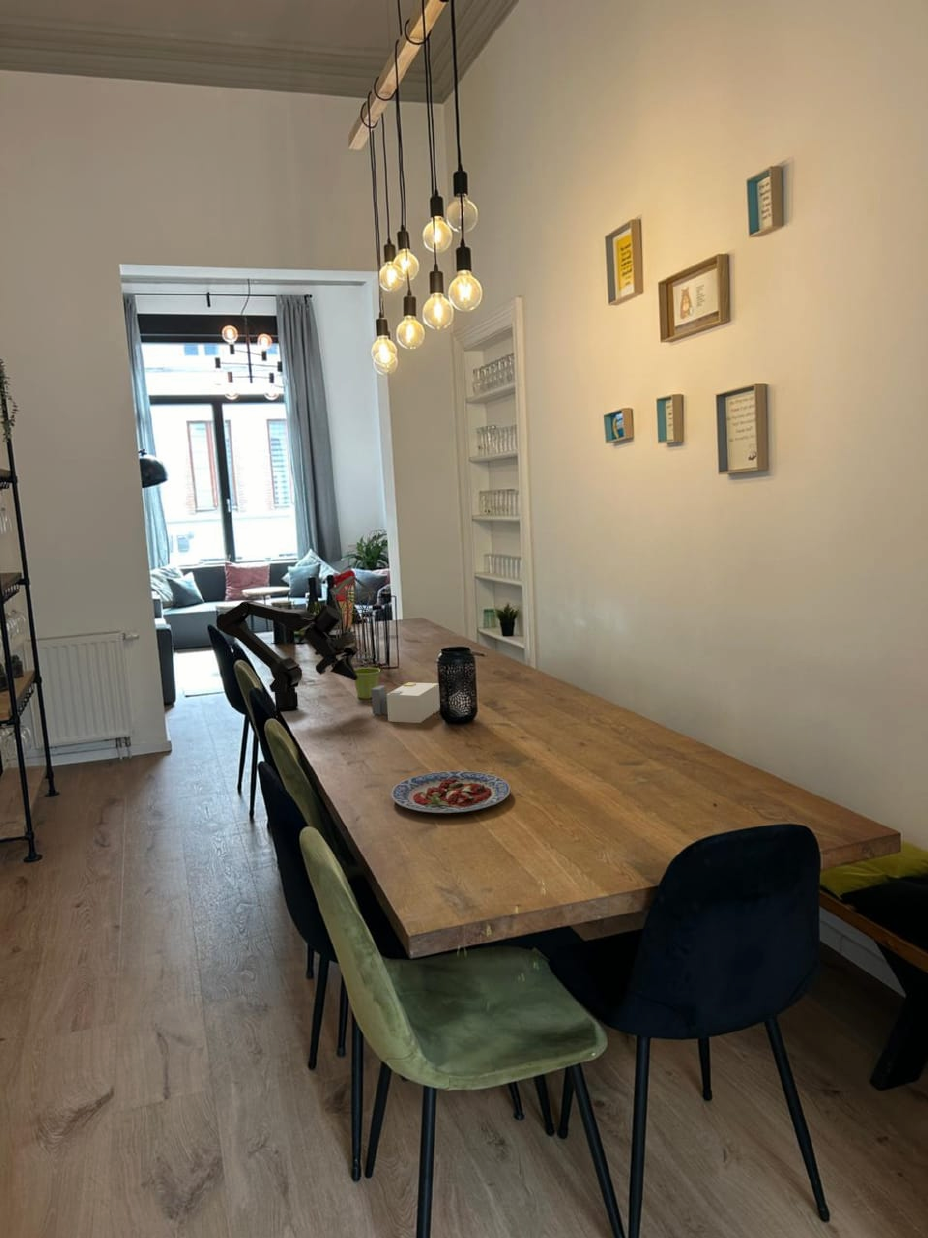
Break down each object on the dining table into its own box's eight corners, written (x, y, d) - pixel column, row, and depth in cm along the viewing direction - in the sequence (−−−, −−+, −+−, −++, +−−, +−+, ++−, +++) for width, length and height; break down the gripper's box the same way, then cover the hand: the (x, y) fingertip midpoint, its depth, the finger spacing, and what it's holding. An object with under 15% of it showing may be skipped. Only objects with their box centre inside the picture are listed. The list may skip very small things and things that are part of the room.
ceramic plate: (445, 773, 211) (444, 760, 211) (534, 793, 195) (533, 780, 194) (366, 805, 192) (366, 792, 191) (458, 831, 175) (458, 816, 175)
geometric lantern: (331, 666, 343) (327, 576, 338) (371, 663, 347) (368, 574, 343) (338, 673, 328) (334, 579, 323) (380, 670, 332) (376, 577, 328)
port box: (387, 721, 259) (386, 693, 258) (409, 707, 274) (407, 681, 273) (420, 723, 256) (418, 694, 254) (439, 709, 270) (438, 682, 269)
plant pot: (384, 693, 295) (382, 667, 293) (378, 700, 285) (377, 673, 284) (356, 693, 296) (354, 668, 294) (350, 700, 286) (348, 674, 285)
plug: (372, 714, 266) (371, 689, 265) (380, 709, 271) (378, 685, 270) (401, 715, 263) (400, 690, 262) (408, 711, 268) (407, 686, 267)
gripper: (322, 629, 260) (358, 667, 258) (350, 619, 277) (385, 655, 275) (300, 655, 264) (336, 693, 262) (330, 644, 281) (364, 679, 279)
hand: (356, 679), depth 269 cm, fingers closed
